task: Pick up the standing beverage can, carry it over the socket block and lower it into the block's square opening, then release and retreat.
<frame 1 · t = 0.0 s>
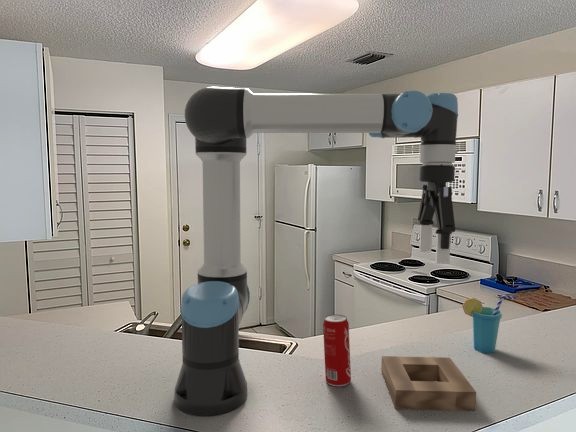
hand: (433, 257, 101), 28 cm above the worktop, fingers open, 13 cm apart
socket: (424, 389, 96), on the worktop
cup: (487, 349, 118), on the worktop
beverage can: (336, 382, 100), on the worktop
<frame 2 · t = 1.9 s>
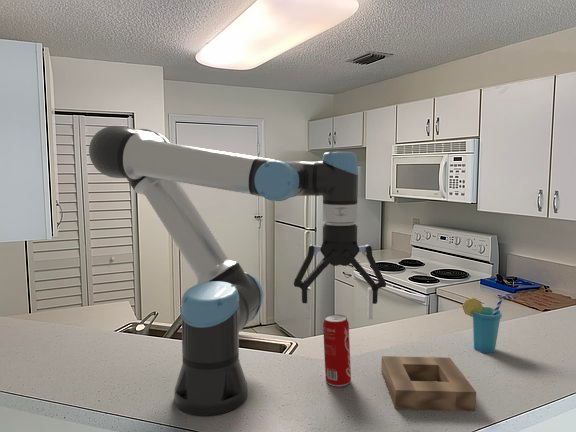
hand: (339, 317, 98), 15 cm above the worktop, fingers open, 13 cm apart
nothing on the worktop moved.
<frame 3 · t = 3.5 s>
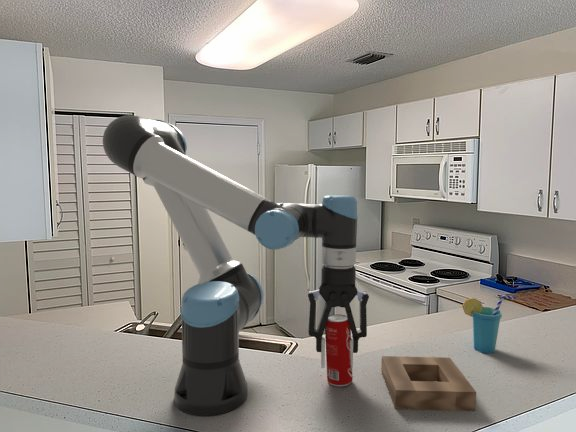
hand: (336, 365, 100), 4 cm above the worktop, fingers closed on beverage can, 6 cm apart
beverage can: (338, 382, 100), on the worktop, touching gripper
everything else where it was.
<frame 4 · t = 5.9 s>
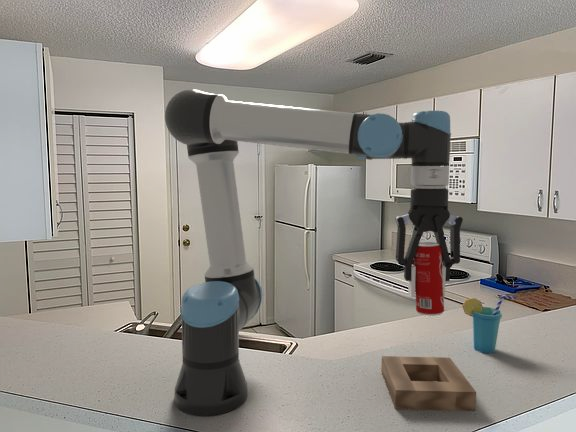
hand: (426, 295, 94), 21 cm above the worktop, fingers closed on beverage can, 6 cm apart
beverage can: (427, 313, 94), point 17 cm above the worktop, touching gripper
everything else where it was.
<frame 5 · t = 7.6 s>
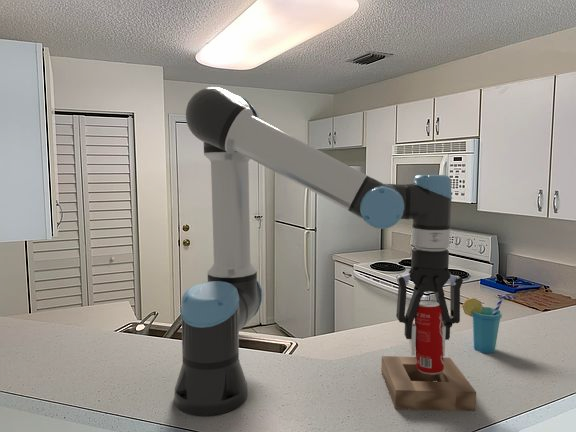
hand: (426, 352, 95), 8 cm above the worktop, fingers closed on beverage can, 6 cm apart
beverage can: (427, 370, 96), point 5 cm above the worktop, touching gripper
everything else where it was.
when the fingers open (5 cm above the worktop, at t = 8.5 s): beverage can drops 2 cm, resting in socket.
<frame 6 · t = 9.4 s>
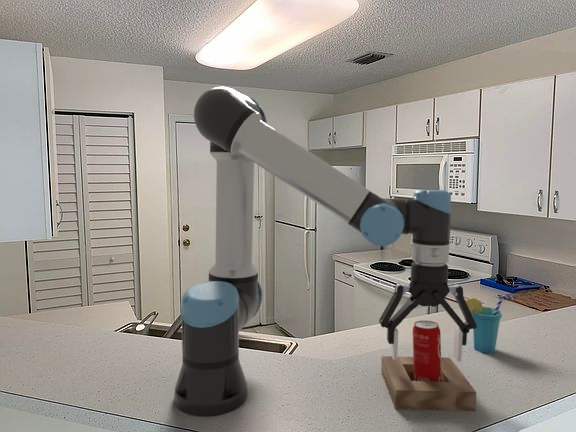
hand: (425, 358, 96), 7 cm above the worktop, fingers open, 13 cm apart
beverage can: (425, 390, 96), resting in socket
everything else where it was.
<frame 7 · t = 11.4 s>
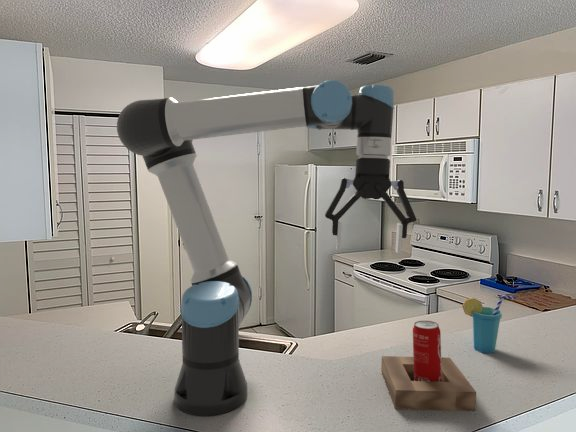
hand: (368, 251, 100), 29 cm above the worktop, fingers open, 13 cm apart
nothing on the worktop moved.
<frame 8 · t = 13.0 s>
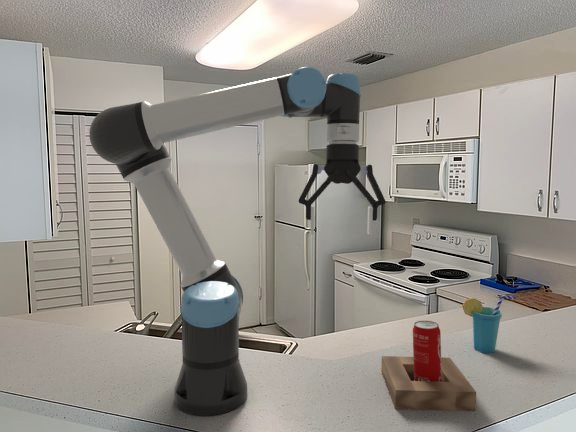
hand: (340, 234, 104), 33 cm above the worktop, fingers open, 13 cm apart
nothing on the worktop moved.
at the end: beverage can 0.4 cm from the socket (horizontally); beverage can tilted 0°; the gripper is holding nothing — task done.
